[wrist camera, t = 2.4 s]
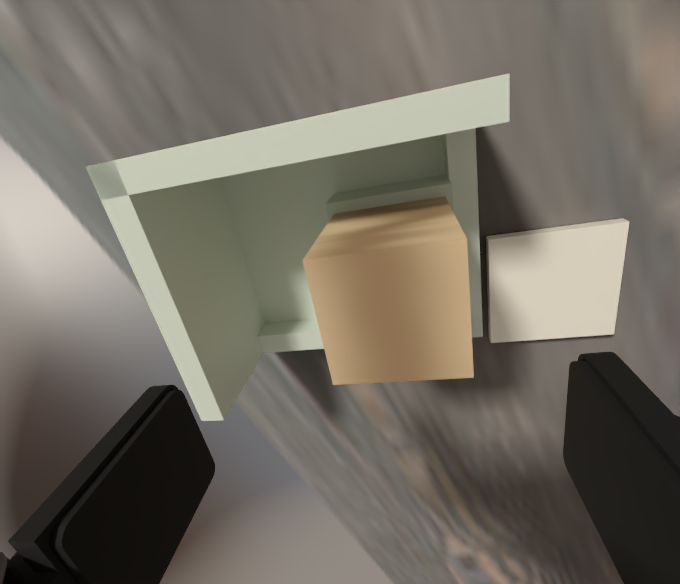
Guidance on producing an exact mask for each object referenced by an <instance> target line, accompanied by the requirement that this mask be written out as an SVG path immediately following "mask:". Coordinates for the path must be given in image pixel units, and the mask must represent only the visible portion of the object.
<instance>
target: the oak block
mask: <svg viewBox="0 0 680 584" xmlns="http://www.w3.org/2000/svg"><path fill="white" fill-rule="evenodd" d="M302 261H303V265H304V269H305V273H306V277H307V282H308V286H309V290H310V294H311V298H312V302H313V306H314V310H315V314H316V318H317V322H318V326H319V330H320V334H321V338H322V342H323V346H324V350H325V354H326V358H327V362H328V366H329V370H330V374H331V378H332V382H333V385H342V384H361V383H380V382H400V381H419V380H438V379H457V378H474V369H473V349H472V329H471V309H470V289H469V268H468V248H467V238H466V236H465V234H464V232H463V230H462V228H461V226H460V224H459V222H458V220H457V218H456V216H455V214H454V212H453V210H452V208H451V206H450V204H449V202H448V200H447V198H446V196H444V197H437V198H431V199H425V200H418V201H412V202H405V203H399V204H393V205H386V206H380V207H374V208H367V209H361V210H355V211H348V212H342V213H336V214H333V216H332V217H331V219H330V220H329V222H328V223H327V225H326V226H325V228H324V229H323V231H322V232H321V234H320V235H319V236H318V238H317V239H316V241H315V242H314V244H313V245H312V247H311V248H310V250H309V251H308V253H307V254H306V256H305V257H304V259H303V260H302Z"/></svg>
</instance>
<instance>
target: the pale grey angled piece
mask: <svg viewBox="0 0 680 584" xmlns="http://www.w3.org/2000/svg"><path fill="white" fill-rule="evenodd" d="M504 122H509V74H504V75H500V76H495V77H491V78H486V79H482V80H477V81H473V82H468V83H464V84H459V85H455V86H450V87H445V88H441V89H436V90H432V91H427V92H423V93H418V94H414V95H409V96H405V97H400V98H395V99H391V100H386V101H382V102H377V103H373V104H368V105H364V106H359V107H355V108H350V109H345V110H341V111H336V112H332V113H327V114H323V115H318V116H314V117H309V118H305V119H300V120H295V121H291V122H286V123H282V124H277V125H273V126H268V127H264V128H259V129H255V130H250V131H245V132H241V133H236V134H232V135H227V136H223V137H218V138H214V139H209V140H205V141H200V142H195V143H191V144H186V145H182V146H177V147H173V148H168V149H164V150H159V151H155V152H150V153H145V154H141V155H136V156H132V157H127V158H123V159H118V160H114V161H109V162H105V163H100V164H95V165H91V166H86V169H87V171H88V173H89V175H90V178H91V180H92V182H93V184H94V186H95V188H96V191H97V193H98V195H99V197H100V199H101V202H102V204H103V206H104V208H105V210H106V213H107V215H108V217H109V219H110V221H111V223H112V226H113V228H114V230H115V232H116V234H117V237H118V239H119V241H120V243H121V245H122V248H123V250H124V252H125V254H126V256H127V258H128V261H129V263H130V265H131V267H132V269H133V272H134V274H135V276H136V278H137V280H138V282H139V285H140V287H141V289H142V291H143V293H144V296H145V298H146V300H147V302H148V304H149V307H150V309H151V311H152V313H153V315H154V317H155V320H156V322H157V324H158V326H159V328H160V331H161V333H162V335H163V337H164V339H165V342H166V344H167V346H168V348H169V350H170V352H171V354H172V357H173V359H174V361H175V363H176V366H177V368H178V370H179V372H180V374H181V376H182V378H183V381H184V383H185V385H186V387H187V389H188V392H189V394H190V396H191V398H192V400H193V403H194V405H195V407H196V409H197V412H198V413H199V416H200V418H201V420H202V421H213V420H224V419H225V418H226V416H227V414H228V412H229V411H230V409H231V407H232V405H233V404H234V402H235V400H236V399H237V397H238V395H239V393H240V392H241V390H242V388H243V386H244V385H245V383H246V381H247V380H248V378H249V376H250V374H251V373H252V371H253V369H254V367H255V366H256V364H257V362H258V361H259V359H260V357H261V355H262V354H263V353H272V352H286V351H299V350H312V349H324V346H323V342H322V338H321V334H320V330H319V326H318V322H317V318H316V314H315V310H314V306H313V302H312V298H311V294H310V290H309V286H308V282H307V277H306V273H305V269H304V265H303V261H302V260H303V259H304V257H305V256H306V254H307V253H308V251H309V250H310V248H311V247H312V245H313V244H314V242H315V241H316V239H317V238H318V236H319V235H320V234H321V232H322V231H323V229H324V228H325V226H326V225H327V223H328V222H329V220H330V219H331V217H332V216H333V214H336V213H342V212H348V211H355V210H361V209H367V208H374V207H380V206H386V205H393V204H399V203H405V202H412V201H418V200H425V199H431V198H437V197H444V196H446V198H447V200H448V202H449V204H450V206H451V208H452V210H453V212H454V214H455V216H456V218H457V220H458V222H459V224H460V226H461V228H462V230H463V232H464V234H465V236H466V238H467V248H468V268H469V289H470V309H471V329H472V337H483V326H482V297H481V268H480V240H479V211H478V183H477V154H476V128H478V127H483V126H489V125H494V124H499V123H504Z"/></svg>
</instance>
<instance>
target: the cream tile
mask: <svg viewBox="0 0 680 584" xmlns="http://www.w3.org/2000/svg"><path fill="white" fill-rule="evenodd" d="M628 228H629V221H627V220H625V219H623V218H622V219H614V220H606V221H599V222H591V223H583V224H576V225H568V226H561V227H553V228H545V229H538V230H530V231H522V232H515V233H507V234H500V235H492V236H486V257H487V294H488V330H489V340H490V342H491V343H499V342H513V341H527V340H541V339H555V338H569V337H583V336H597V335H612V334H614V330H615V322H616V315H617V308H618V301H619V293H620V286H621V279H622V272H623V264H624V257H625V250H626V242H627V235H628Z"/></svg>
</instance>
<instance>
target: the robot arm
mask: <svg viewBox="0 0 680 584" xmlns="http://www.w3.org/2000/svg"><path fill="white" fill-rule="evenodd" d="M563 456H564V461H565V465H566V468H567V470H568V472H569V474H570V476H571V478H572V480H573V482H574V484H575V486H576V488H577V490H578V492H579V494H580V496H581V498H582V500H583V502H584V504H585V506H586V508H587V510H588V512H589V514H590V516H591V518H592V520H593V522H594V524H595V526H596V528H597V530H598V532H599V534H600V536H601V538H602V540H603V542H604V544H605V546H606V548H607V550H608V552H609V554H610V556H611V558H612V560H613V562H614V564H615V566H616V568H617V570H618V573H619V575H620V577H621V579H622V581H623V583H624V584H680V417H679V416H676V415H674V414H673V413H672V412H671V411H670V410H669V409H668V408H667V407H666V406H665V405H664V404H663V403H662V402H661V401H660V400H659V398H658V397H657V396H656V395H655V394H654V393H653V392H652V391H651V390H650V389H649V388H648V387H647V386H646V385H645V384H644V383H643V382H642V381H641V380H640V379H639V378H638V377H637V375H636V374H635V373H634V372H633V371H632V370H631V369H630V368H629V367H628V366H627V365H626V364H625V363H624V362H623V361H622V360H621V359H620V358H619V357H618V356H617V355H616V354H615V353H613V352H600V353H587V354H581V355H580V356H579V357H578V361H573V362H571V363H570V367H569V380H568V393H567V407H566V421H565V434H564V448H563ZM214 472H215V463H214V461H213V458H212V456H211V454H210V451H209V449H208V447H207V445H206V443H205V440H204V438H203V436H202V434H201V431H200V429H199V427H198V425H197V423H196V420H195V418H194V416H193V413H192V411H191V409H190V407H189V405H188V403H187V400H186V398H185V396H184V394H183V392H182V391H181V390H178V388H177V387H176V386H174V385H163V386H153V387H150V388H148V389H147V390H146V391H145V392H144V393H143V395H142V396H141V397H140V398H139V399H138V400H137V401H136V402H135V403H134V404H133V405H132V406H131V408H130V409H129V410H128V411H127V412H126V413H125V414H124V415H123V416H122V417H121V418H120V420H119V421H118V422H117V423H116V424H115V425H114V426H113V427H112V428H111V430H110V431H109V432H108V433H107V434H106V435H105V436H104V437H103V438H102V439H101V440H100V441H99V442H98V444H97V445H96V446H95V447H94V448H93V449H92V450H91V451H90V452H89V453H88V455H87V456H86V457H85V458H84V459H83V460H82V461H81V462H80V463H79V464H78V465H77V466H76V468H75V469H74V470H73V471H72V472H71V473H70V474H69V475H68V476H67V477H66V479H65V480H64V481H63V482H62V483H61V484H60V485H59V486H58V487H57V488H56V489H55V490H54V492H53V493H52V494H51V495H50V496H49V497H48V498H47V499H46V500H45V501H44V502H43V503H42V505H41V506H40V507H39V508H38V509H37V510H36V511H35V512H34V513H33V514H32V515H31V517H30V518H29V519H28V520H27V521H26V522H25V523H24V524H23V525H22V526H21V528H20V529H19V530H18V531H17V532H16V533H15V534H14V535H13V536H12V537H11V538H10V540H9V541H8V542H9V543H10V544H11V545H12V546H13V548H14V549H15V550H16V551H17V552H16V553H15V555H14V556H13V557H12V558H11V559H10V560H9V559H8V557H7V556H6V555H5V554H4V553H3V552H0V584H159V583H160V581H161V579H162V577H163V575H164V573H165V571H166V569H167V567H168V565H169V563H170V561H171V559H172V557H173V555H174V553H175V551H176V549H177V547H178V545H179V543H180V541H181V540H182V538H183V536H184V533H185V532H186V529H187V528H188V526H189V524H190V522H191V520H192V518H193V516H194V513H195V512H196V510H197V508H198V506H199V504H200V502H201V499H202V498H203V496H204V494H205V492H206V490H207V488H208V486H209V484H210V482H211V480H212V478H213V476H214Z"/></svg>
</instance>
